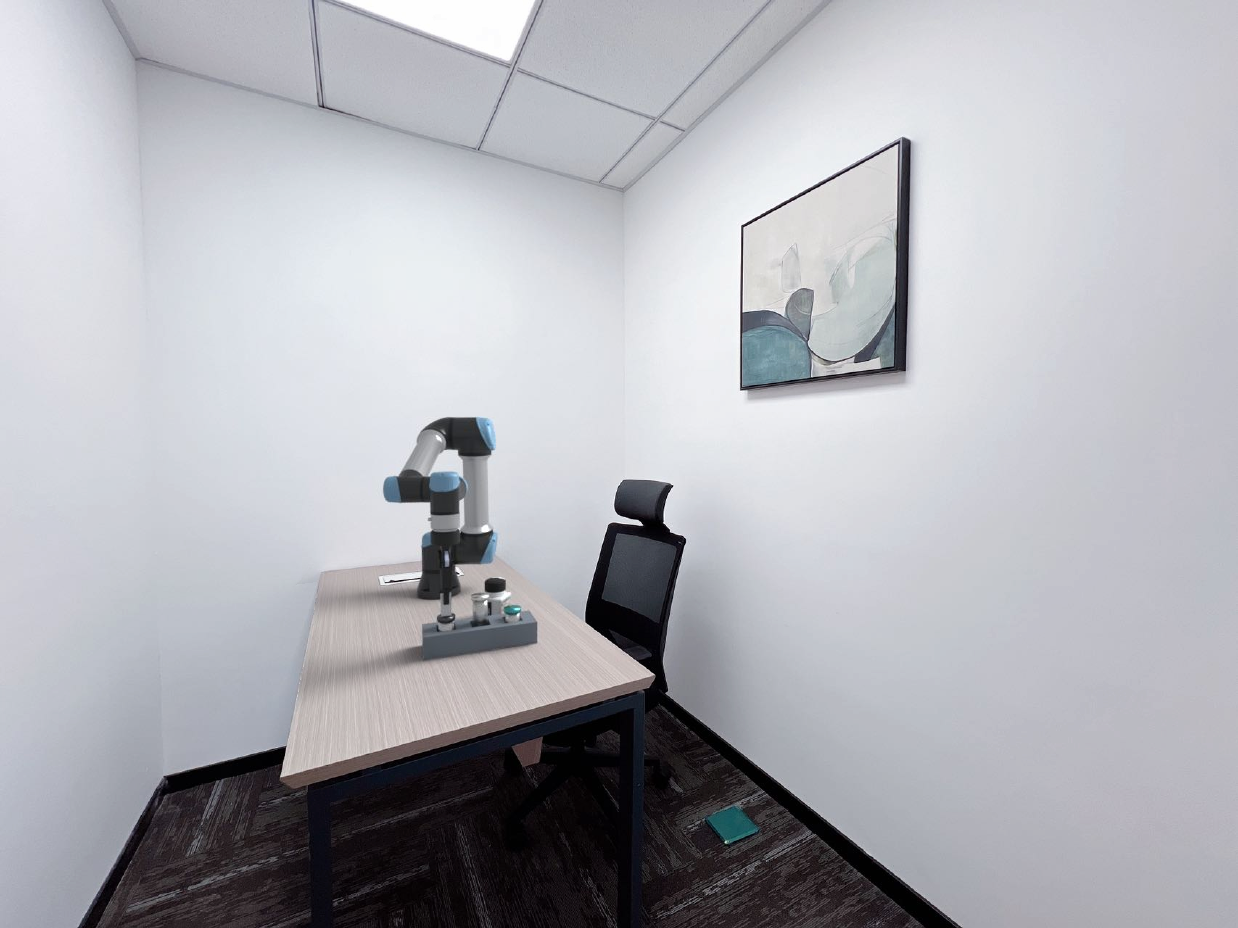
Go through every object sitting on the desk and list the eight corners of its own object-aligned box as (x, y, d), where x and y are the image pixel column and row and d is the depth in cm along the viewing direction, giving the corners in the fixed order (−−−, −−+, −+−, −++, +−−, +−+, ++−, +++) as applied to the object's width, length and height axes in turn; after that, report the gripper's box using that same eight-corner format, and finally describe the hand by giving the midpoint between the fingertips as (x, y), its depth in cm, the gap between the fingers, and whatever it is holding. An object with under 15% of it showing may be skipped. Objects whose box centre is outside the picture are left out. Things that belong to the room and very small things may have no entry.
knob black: (436, 643, 139) (436, 614, 139) (454, 641, 141) (454, 611, 141) (437, 650, 135) (437, 620, 134) (456, 648, 137) (456, 617, 136)
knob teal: (502, 634, 146) (502, 606, 146) (519, 632, 148) (519, 604, 148) (505, 640, 142) (505, 611, 141) (522, 638, 144) (522, 609, 143)
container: (501, 624, 156) (501, 583, 155) (478, 622, 158) (478, 581, 157) (511, 615, 164) (511, 576, 163) (489, 613, 165) (489, 574, 165)
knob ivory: (470, 622, 142) (470, 593, 142) (487, 620, 144) (487, 591, 144) (472, 628, 138) (472, 598, 138) (490, 626, 140) (490, 596, 139)
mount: (422, 645, 140) (422, 624, 140) (529, 629, 152) (529, 610, 152) (423, 660, 131) (423, 637, 131) (537, 642, 143) (537, 621, 142)
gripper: (429, 525, 141) (430, 609, 142) (431, 534, 129) (432, 625, 130) (457, 524, 144) (458, 605, 145) (462, 532, 132) (462, 621, 133)
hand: (446, 614), depth 137 cm, fingers closed
